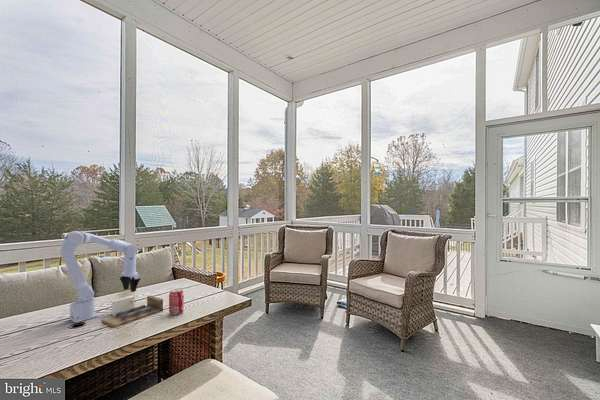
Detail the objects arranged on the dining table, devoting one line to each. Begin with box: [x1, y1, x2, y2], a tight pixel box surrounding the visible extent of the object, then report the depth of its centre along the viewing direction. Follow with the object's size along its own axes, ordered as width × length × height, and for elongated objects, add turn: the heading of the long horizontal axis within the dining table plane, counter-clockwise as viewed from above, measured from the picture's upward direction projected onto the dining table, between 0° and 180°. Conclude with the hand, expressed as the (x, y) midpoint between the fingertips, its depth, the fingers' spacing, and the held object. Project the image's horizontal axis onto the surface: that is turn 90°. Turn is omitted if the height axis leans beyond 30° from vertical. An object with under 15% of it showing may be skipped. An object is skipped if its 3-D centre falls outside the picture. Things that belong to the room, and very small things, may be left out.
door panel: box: [110, 294, 135, 316], centre depth 148 cm, size 10×4×7 cm, turn 147°
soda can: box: [168, 288, 185, 316], centre depth 146 cm, size 7×7×12 cm
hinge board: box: [101, 295, 164, 329], centre depth 142 cm, size 24×12×6 cm, turn 147°
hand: (129, 290), depth 154 cm, fingers open, 7 cm apart
